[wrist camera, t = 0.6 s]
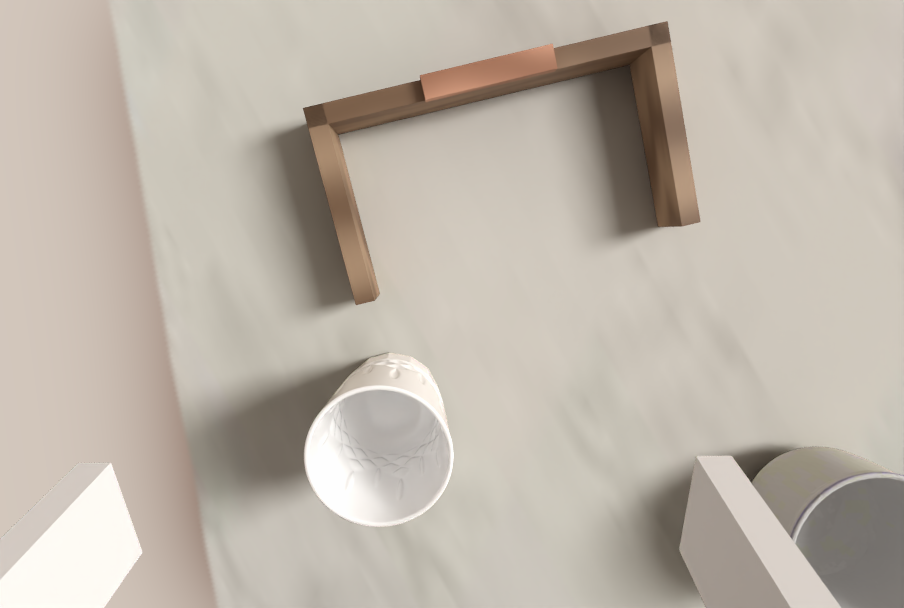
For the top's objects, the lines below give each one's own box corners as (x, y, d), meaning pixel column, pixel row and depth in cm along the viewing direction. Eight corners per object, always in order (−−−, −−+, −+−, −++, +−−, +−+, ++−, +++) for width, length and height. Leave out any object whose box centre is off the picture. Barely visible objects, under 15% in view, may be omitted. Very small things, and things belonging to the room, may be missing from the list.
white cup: (315, 410, 37) (274, 474, 27) (379, 322, 37) (360, 356, 27) (405, 470, 38) (396, 554, 28) (469, 385, 37) (483, 441, 28)
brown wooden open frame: (674, 222, 36) (705, 221, 32) (362, 297, 36) (354, 306, 32) (643, 40, 35) (671, 15, 31) (315, 118, 34) (299, 103, 30)
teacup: (727, 571, 40) (800, 655, 32) (714, 440, 39) (787, 495, 31) (901, 540, 41) (1015, 615, 33) (896, 409, 39) (1014, 454, 31)
